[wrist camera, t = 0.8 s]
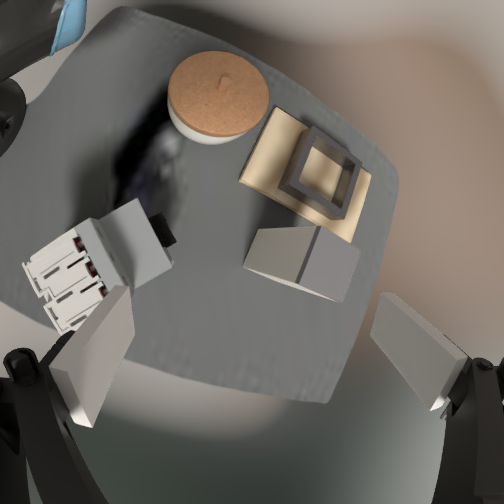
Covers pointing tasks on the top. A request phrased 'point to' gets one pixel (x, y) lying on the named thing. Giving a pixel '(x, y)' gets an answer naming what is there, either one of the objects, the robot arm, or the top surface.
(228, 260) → the top surface
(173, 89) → the lidded bowl
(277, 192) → the mount board
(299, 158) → the socket collar
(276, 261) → the power strip
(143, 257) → the circuit breaker
